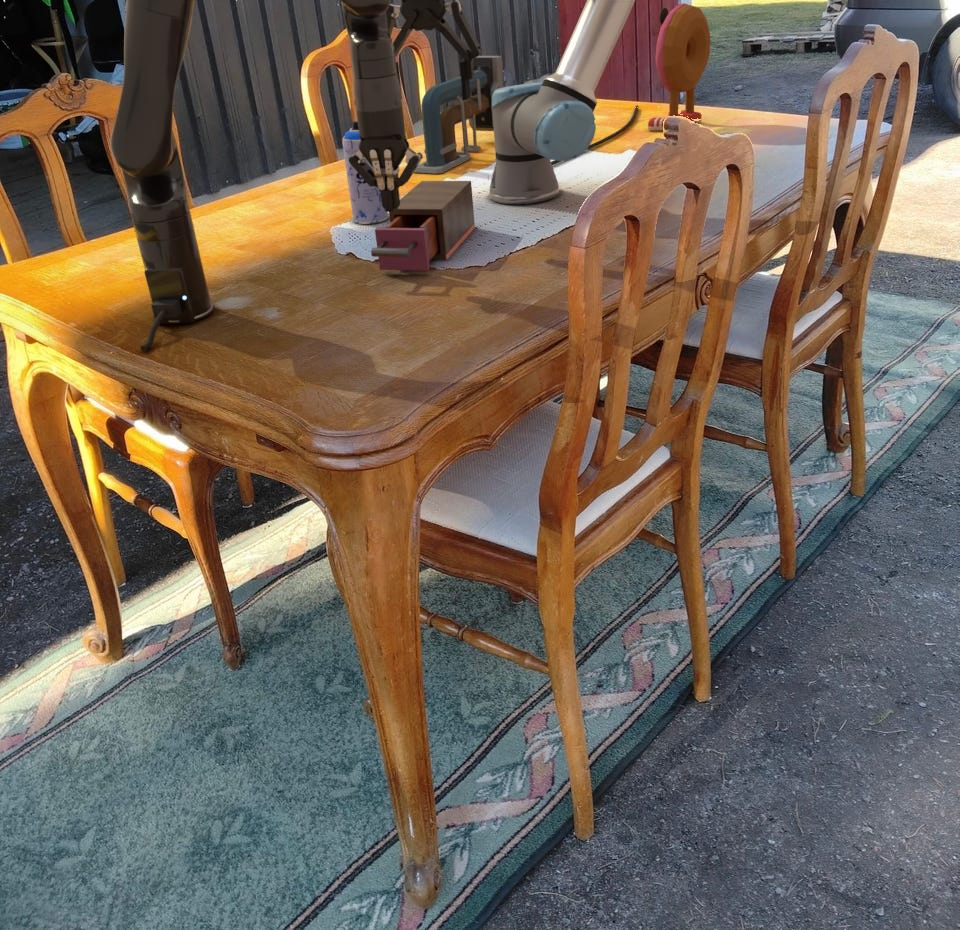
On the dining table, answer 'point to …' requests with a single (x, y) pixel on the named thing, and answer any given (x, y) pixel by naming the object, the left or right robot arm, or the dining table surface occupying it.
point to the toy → (681, 57)
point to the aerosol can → (361, 185)
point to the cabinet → (442, 211)
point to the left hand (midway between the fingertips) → (391, 210)
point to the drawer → (407, 243)
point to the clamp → (458, 115)
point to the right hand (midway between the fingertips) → (431, 99)
